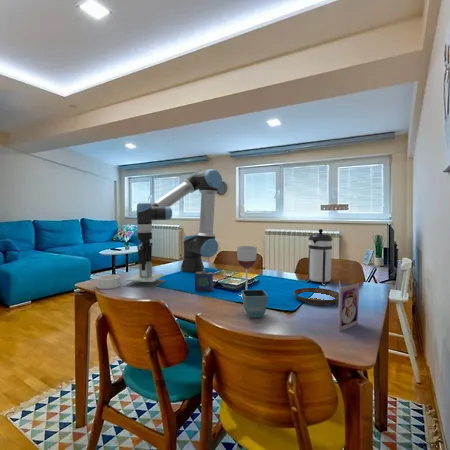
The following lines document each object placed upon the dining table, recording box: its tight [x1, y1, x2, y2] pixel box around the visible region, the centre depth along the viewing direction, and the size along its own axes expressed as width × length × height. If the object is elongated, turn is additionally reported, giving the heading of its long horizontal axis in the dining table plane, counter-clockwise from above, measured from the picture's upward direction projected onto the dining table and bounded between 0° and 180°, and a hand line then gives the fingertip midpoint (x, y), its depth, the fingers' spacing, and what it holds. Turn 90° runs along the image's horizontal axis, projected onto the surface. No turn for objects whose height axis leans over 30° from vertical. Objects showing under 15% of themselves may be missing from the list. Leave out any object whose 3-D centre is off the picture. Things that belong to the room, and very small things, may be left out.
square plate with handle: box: [125, 261, 165, 282], centre depth 160 cm, size 15×15×9 cm
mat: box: [122, 279, 167, 289], centre depth 160 cm, size 17×17×1 cm
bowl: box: [96, 274, 121, 290], centre depth 154 cm, size 11×11×5 cm
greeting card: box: [337, 279, 360, 331], centre depth 106 cm, size 11×7×15 cm, turn 126°
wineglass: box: [236, 245, 258, 297], centre depth 139 cm, size 9×10×23 cm
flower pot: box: [241, 289, 269, 319], centre depth 114 cm, size 9×9×9 cm
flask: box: [194, 268, 214, 292], centre depth 148 cm, size 9×3×11 cm, turn 88°
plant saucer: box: [293, 287, 339, 306], centre depth 135 cm, size 21×21×3 cm
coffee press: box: [305, 228, 334, 285], centre depth 167 cm, size 17×16×30 cm
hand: (145, 275), depth 160 cm, fingers closed on square plate with handle, 2 cm apart
